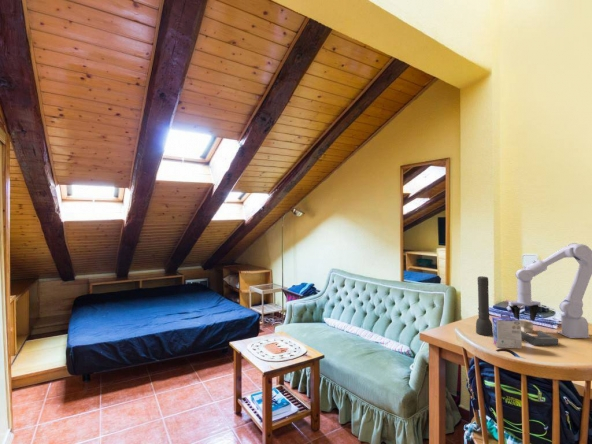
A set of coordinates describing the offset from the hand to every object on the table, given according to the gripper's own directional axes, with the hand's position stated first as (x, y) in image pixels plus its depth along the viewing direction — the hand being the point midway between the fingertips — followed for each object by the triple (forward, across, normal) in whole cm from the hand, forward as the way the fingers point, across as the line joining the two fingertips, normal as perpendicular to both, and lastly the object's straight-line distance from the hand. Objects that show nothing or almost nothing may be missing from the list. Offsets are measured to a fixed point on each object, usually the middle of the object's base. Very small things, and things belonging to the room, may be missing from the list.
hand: (524, 320), depth 159 cm
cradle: (+5, +4, +14) cm, 15 cm away
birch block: (+5, 0, 0) cm, 5 cm away
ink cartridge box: (+6, +21, +19) cm, 29 cm away
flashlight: (+6, +22, +3) cm, 23 cm away
